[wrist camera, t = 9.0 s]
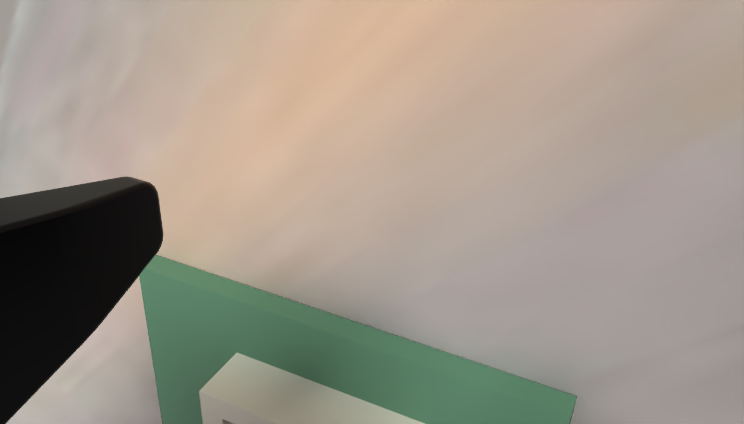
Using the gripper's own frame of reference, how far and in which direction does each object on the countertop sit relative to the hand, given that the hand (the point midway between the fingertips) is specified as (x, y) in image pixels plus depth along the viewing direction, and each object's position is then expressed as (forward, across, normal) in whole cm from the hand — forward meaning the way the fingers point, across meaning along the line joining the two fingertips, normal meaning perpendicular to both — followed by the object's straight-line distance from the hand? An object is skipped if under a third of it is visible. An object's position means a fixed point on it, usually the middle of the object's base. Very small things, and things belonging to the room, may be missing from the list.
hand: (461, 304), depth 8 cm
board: (+12, +8, +19) cm, 24 cm away
